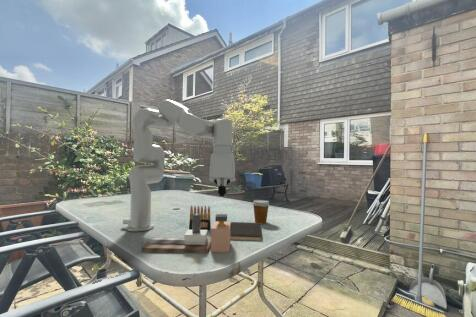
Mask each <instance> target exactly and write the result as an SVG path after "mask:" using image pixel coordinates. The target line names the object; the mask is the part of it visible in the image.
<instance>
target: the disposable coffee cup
mask: <svg viewBox="0 0 476 317" xmlns="http://www.w3.org/2000/svg"><path fill="white" fill-rule="evenodd" d="M252 206H253V214H254V223H263V224H266V223H267V220H268V212H269V206H270V201H269V200H266V199H254V200H253V202H252Z"/></svg>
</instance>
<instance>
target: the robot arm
mask: <svg viewBox="0 0 476 317" xmlns="http://www.w3.org/2000/svg"><path fill="white" fill-rule="evenodd" d="M132 124H133V131H134V132H133V133H134V139H133V160H134V161H135V162H137V163H142V164H141V165H135V166H132V168H130V170H129V172H128V179H129V185H130V214H129V216H130V218H129V219H122V225H127V226H126V231H128V232H136V233H137V232H138V233H139V232H146V231H150V230H153V229H154V226H155V224H154V223H151V218H152V216H151V215H152V214H151V213H152V191H151V189H150V187H149V184H157V183H160V182H161V181H162V180H163V178H164V175H165V174H164V172H165V158H166V157H165V156H166V154H165V151H164V149H163V147H162V146H160V145H157V144H153V133H152V131H151V129H150V127H151V128H157V129H163V130H164V129H169V128H171V127H174V126H175V125H177V126H178V127H179V128H180V130H182V131H184V132H186V134H189V135H191V136H193V137H197V138H202V139H208V140H213V144H212V145H213V148H212V150H213V152H212V153H211V155H210V159H209V160H210V161H209V174H208V175H209V176H208V181H209V182H213V183H215V184H216V185H217V187H218V188H217V189H218V190H217V192H218V193H217V194H218V195H219V197H225V195H227V186H228V185H229V183H232V182H233V183H234V182H236V163H235V162H236V161H235V160H236V159H235V154H234V153H233V152H235V151H236V150H237V148H236V147H234V146H233V122H232V120H231V119H226V118H218V119H215V120H214V121H212V120H209V119H208V120H207V119H204V118H200V117H199V116H196V115H194V114H193V112H192V110H191V109H190V108H188V107H187V106H186V105H184V104H183V103H181V102H177V101H174V100H171V99H164V100H161V101H160V102H159V103H158V105H157V110H156V109H152V108H140V109H138V110H137V111H136V112H135V114H134V116H133V122H132ZM143 163H144V165H143ZM145 163H146V165H145ZM148 163H149V164H150V165H148ZM221 179H223V184H222V183H221Z"/></svg>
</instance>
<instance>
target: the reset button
mask: <svg viewBox="0 0 476 317" xmlns="http://www.w3.org/2000/svg"><path fill="white" fill-rule="evenodd" d="M214 222H219V226H224V222H228V214H227V213H226V214H225V213H224V214H222V213H216V214H215V220H214Z"/></svg>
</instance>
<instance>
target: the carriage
mask: <svg viewBox="0 0 476 317" xmlns="http://www.w3.org/2000/svg"><path fill="white" fill-rule="evenodd" d="M200 225H201V214H197V213H196V214H193V221H192V230H189V229H187V230H186V232H185V233H184V235H183V236H184V237H183V238H184V242H185V245H205V244H206V239H207V238H208V230H200Z"/></svg>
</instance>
